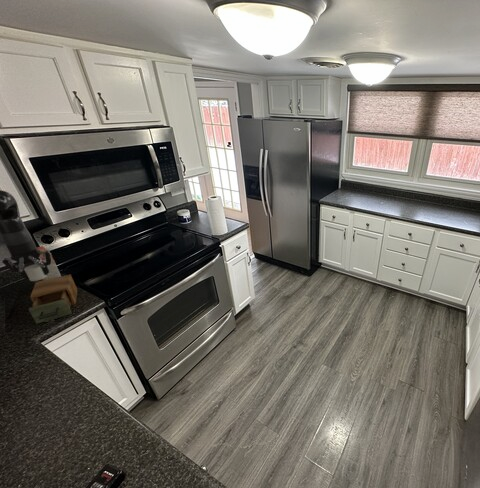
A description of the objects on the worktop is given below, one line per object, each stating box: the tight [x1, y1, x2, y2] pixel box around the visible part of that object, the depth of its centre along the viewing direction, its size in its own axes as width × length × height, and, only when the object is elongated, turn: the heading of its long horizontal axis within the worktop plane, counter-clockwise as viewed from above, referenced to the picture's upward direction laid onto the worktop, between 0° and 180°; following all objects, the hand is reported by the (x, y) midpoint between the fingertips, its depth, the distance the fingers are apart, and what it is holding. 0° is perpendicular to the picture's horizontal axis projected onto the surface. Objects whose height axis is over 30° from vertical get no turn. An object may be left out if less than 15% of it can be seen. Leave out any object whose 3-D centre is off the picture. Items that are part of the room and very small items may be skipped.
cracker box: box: [34, 245, 62, 281], centre depth 136 cm, size 14×6×21 cm, turn 56°
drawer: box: [28, 290, 73, 325], centre depth 119 cm, size 18×11×8 cm, turn 37°
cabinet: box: [29, 273, 78, 306], centre depth 127 cm, size 15×13×10 cm
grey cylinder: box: [24, 263, 47, 282], centre depth 113 cm, size 5×5×6 cm
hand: (37, 276), depth 113 cm, fingers closed on grey cylinder, 5 cm apart
